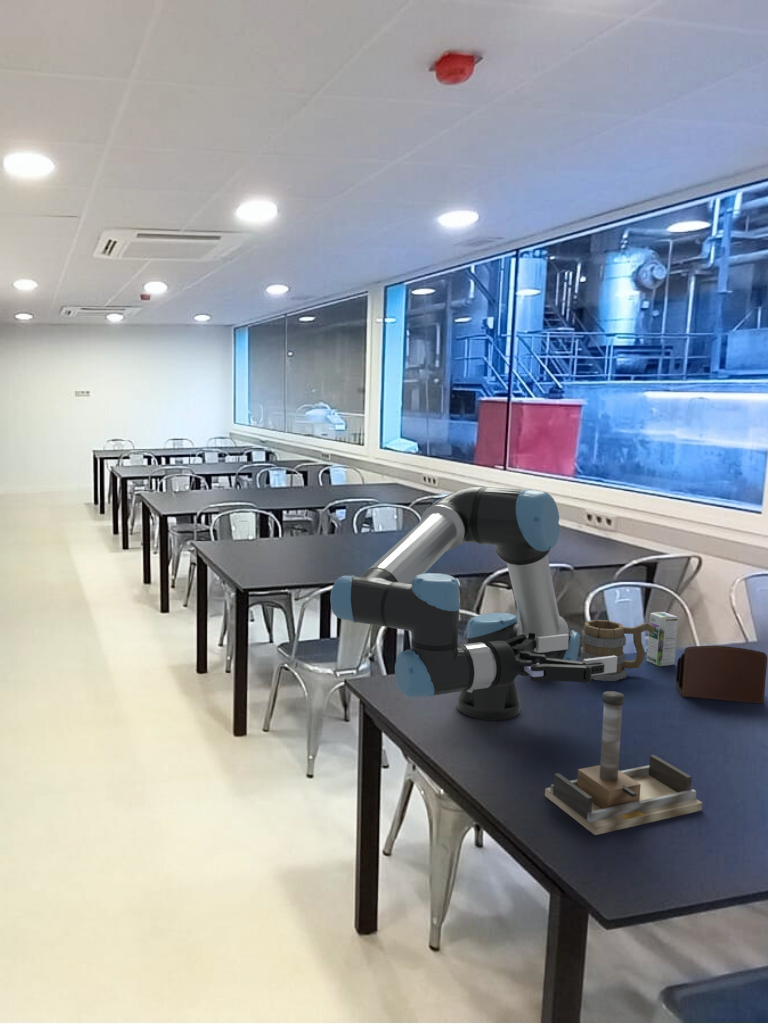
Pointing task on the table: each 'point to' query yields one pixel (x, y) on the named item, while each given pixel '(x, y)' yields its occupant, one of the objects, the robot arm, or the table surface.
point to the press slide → (609, 762)
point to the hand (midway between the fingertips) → (590, 652)
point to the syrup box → (662, 639)
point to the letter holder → (722, 674)
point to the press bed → (659, 799)
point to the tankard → (612, 645)
